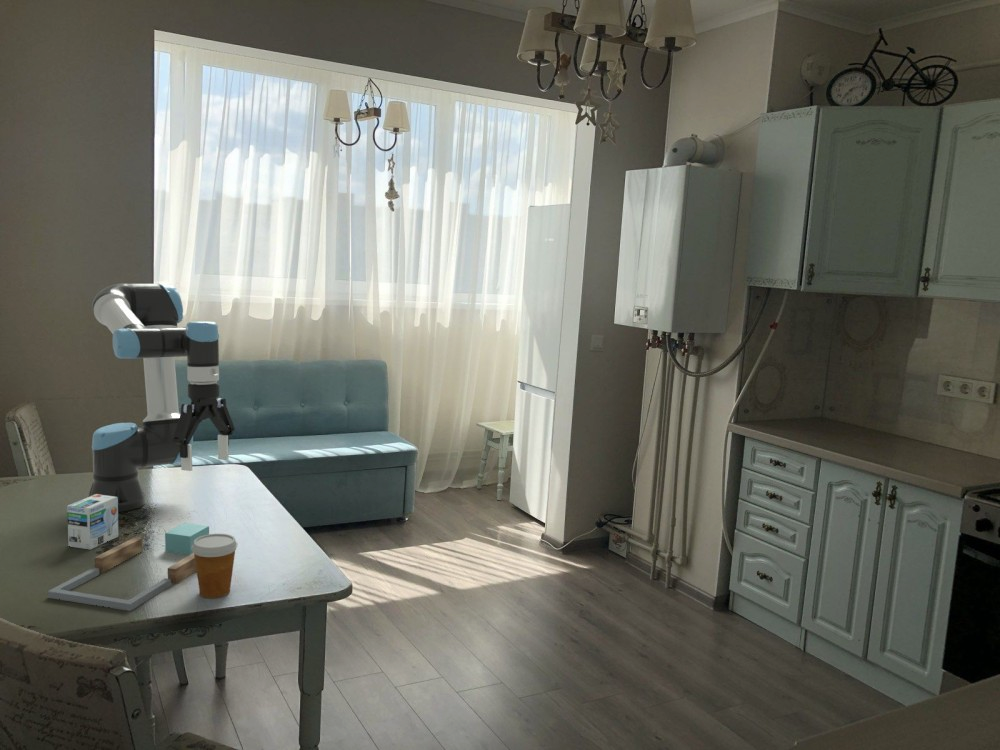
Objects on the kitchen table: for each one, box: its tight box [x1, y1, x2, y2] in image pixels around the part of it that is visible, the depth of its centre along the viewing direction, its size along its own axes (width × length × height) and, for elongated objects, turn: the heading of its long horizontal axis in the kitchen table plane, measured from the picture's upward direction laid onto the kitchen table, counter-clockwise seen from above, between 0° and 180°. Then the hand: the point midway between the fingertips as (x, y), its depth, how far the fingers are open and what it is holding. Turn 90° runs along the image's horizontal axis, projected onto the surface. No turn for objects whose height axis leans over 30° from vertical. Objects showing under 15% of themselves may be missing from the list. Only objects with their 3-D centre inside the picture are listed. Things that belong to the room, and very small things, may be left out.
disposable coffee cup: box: [191, 533, 239, 599], centre depth 172 cm, size 10×10×12 cm
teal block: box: [164, 522, 210, 556], centre depth 198 cm, size 8×7×5 cm
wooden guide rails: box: [94, 536, 197, 585], centre depth 185 cm, size 14×21×4 cm, turn 78°
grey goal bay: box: [47, 567, 172, 612], centre depth 171 cm, size 14×20×2 cm
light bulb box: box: [66, 494, 119, 550], centre depth 198 cm, size 11×7×11 cm, turn 168°
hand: (205, 464), depth 201 cm, fingers open, 13 cm apart
